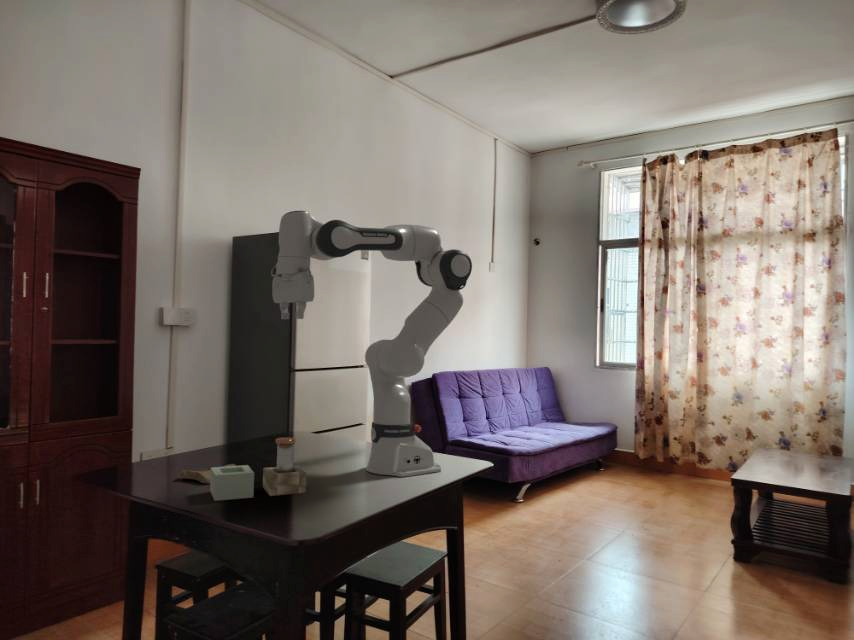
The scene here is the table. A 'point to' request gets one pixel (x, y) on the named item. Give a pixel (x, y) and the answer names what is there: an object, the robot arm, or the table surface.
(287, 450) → the pin
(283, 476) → the mount block
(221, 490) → the socket block
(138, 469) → the table surface
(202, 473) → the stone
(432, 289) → the robot arm
